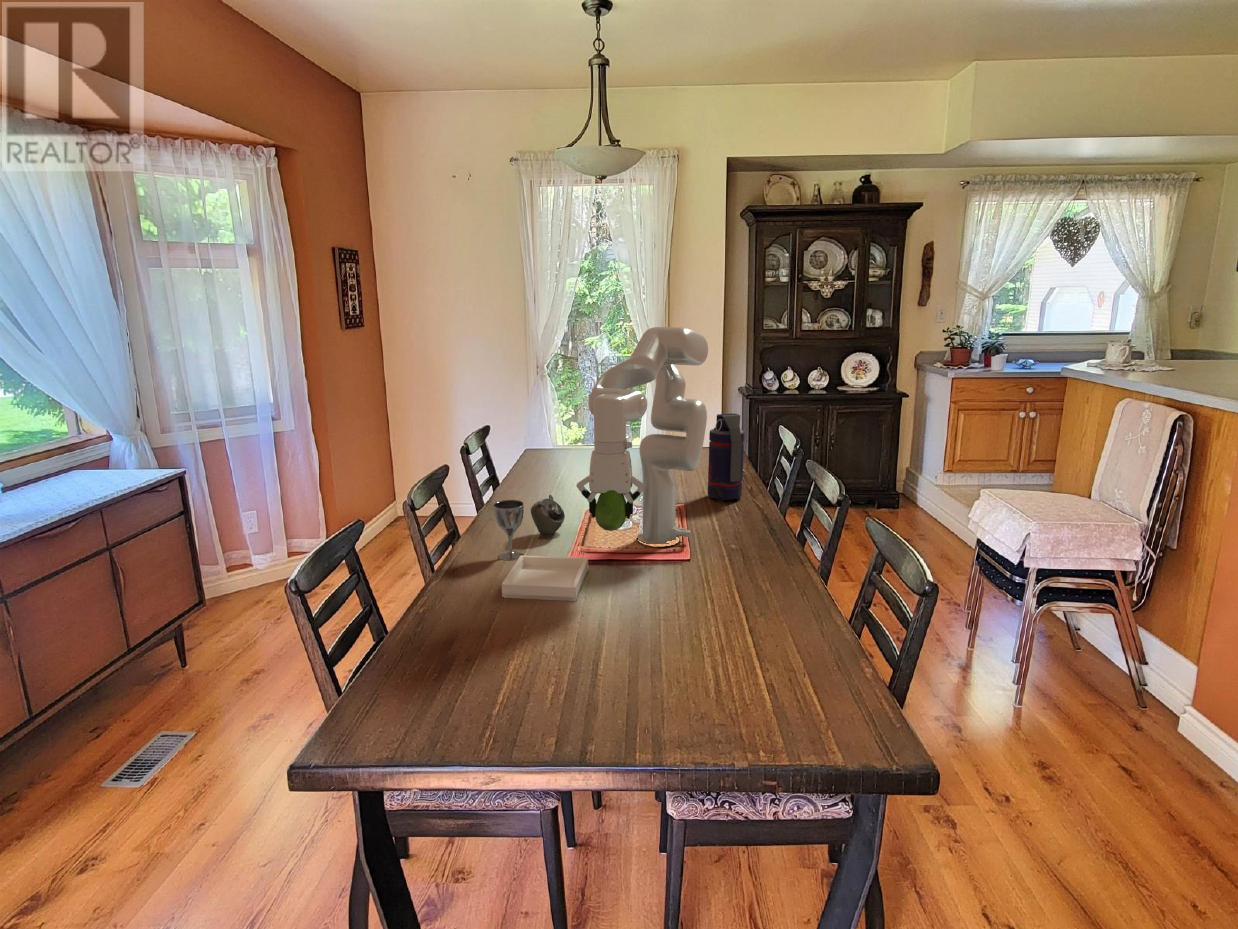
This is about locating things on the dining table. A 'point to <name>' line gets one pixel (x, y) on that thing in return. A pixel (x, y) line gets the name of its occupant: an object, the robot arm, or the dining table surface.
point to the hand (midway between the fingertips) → (611, 516)
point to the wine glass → (509, 523)
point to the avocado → (610, 510)
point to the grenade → (726, 458)
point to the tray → (546, 578)
